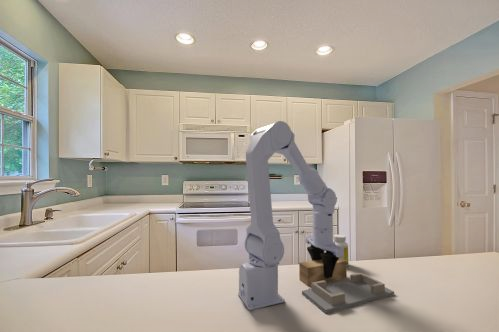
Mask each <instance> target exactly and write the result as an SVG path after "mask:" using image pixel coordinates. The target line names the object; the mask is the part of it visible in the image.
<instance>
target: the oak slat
mask: <svg viewBox="0 0 499 332" xmlns="http://www.w3.org/2000/svg"><path fill="white" fill-rule="evenodd" d="M298 266H299V277H298V278H299V282H301V283H303V284H304V285H305V286H307V287H310V286H311V283H313V282H318V281H322V280H324V281H326V283H330V282H334V281H338V280H339V281H340V280H345V279H347V277H348V275H347V267H348V266H347V267H346V261H345V260H343V259H341V258H339V259H338V261H337V263H336V265H335V268H334V271H333V275H332V277H331V278H325V275H324V266H323V261H322V259H320V260H314V261H312V260H308V261H303V262H299V263H298Z"/></svg>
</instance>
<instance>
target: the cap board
mask: <svg viewBox="0 0 499 332" xmlns="http://www.w3.org/2000/svg"><path fill="white" fill-rule="evenodd" d="M349 277H350V278H349V279H350V280H345V281H342V282H336V283H332V284H327V282H326V281H324V280H322V281H318V282H313V283H311V288H308V289H305V290H302V291H301V295H302V296H303V297H305V299H307V300H309V302H311V303H312V304H313V305H314V306H316V307H317V308H318V309H320V310H321V311H322V312H323V313H324V314H328V313H329V314H330V313H332V312H337V311H340V310H344V309H347V308H352V307H354V306H355V307H356V306H359V305H363V304H365V303H371V302H373V301H376V300H380V299H384V298H388V297H391V296H392V297H393V296H395V291H394V290H392V289H390V288H388V287H385V284H386V283H383V282H381V281H380V280H378V279H375V278H373V277H371V276H369V275H367V274H364V273H362V272H357V273H353V274H350V276H349Z"/></svg>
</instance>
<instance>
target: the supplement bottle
mask: <svg viewBox="0 0 499 332" xmlns="http://www.w3.org/2000/svg"><path fill="white" fill-rule="evenodd" d="M346 240H347V238H346V235H344V234H333V241H334V242H335V245H337V246H338V247H339V248H341V249H343V250H344V257H340V258H341V259H343V260H345V261H346V267H348V266H349V244H348V243H347V242H346Z"/></svg>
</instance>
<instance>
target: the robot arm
mask: <svg viewBox="0 0 499 332" xmlns="http://www.w3.org/2000/svg"><path fill="white" fill-rule="evenodd" d="M275 153H276V154H280V155H282V156H283V157H284V158H285V159H286V160H287V162H288V163H289V164H290V165H291V166H292V168H294V170H295V172H297V174H298V177H297V179H298V182H299V184H300V185H301V186H302V188H303V189H304V190H305V192H306V195H307V201H308V203H310V204H311V205H312V236H306V237H305V244H308V245H310V246H307V248H306V250H307V253H308V254H309V256H310V258H311V261H314V260H320V259H322V261H323V266H324V275H325V278H331V277H332V275H333V271H334V268H335V265H336V263H337V261H338V259H339V258H340V257H344V250H343V249H341V248H339V247H338V246H337V245H335V242H334V239H333V235H334V221H333V220H334V217H333V214H334V212H335V207H336V205H337V202H338V197H337V194H336V192H335V191H334V190H333V189H332V188H329V187H328V186H327V185H326V183H325V182H324V180H323V179H322V177H321V176H320V174H319V171H318V170H317V169H316V168H314V167H309V164H308V163H307V161H306V159H305V158H304V156H303V154H302V152H301V151H300V149H299V147H298V146H297V144H296V142H295V133H294V132H293V131H292V129H291V126H289V124H288V123H287V122H286V121H284V120H278V121H276V122H274V123H271V124H268V125H265V126H262V127H261V126H260V127H258V128H257V129H255V130H254V131H253V132H252V133H251V134H250V141H249V144H248V146H247V150H246V152H245V163H246V165H245V166H246V173H247V174H246V175H247V186H248V187H247V188H248V197H249V199H248V200H249V212H250V222H251V223H250V225H248V226H247V227H246V237H245V240H244V249H245V251H246V252H247V253H248V261H247V262H245V263H242V264H239V265H240V266H239V269H238V292H237V294H238V297H239V298H240V299H241V300H242V302H243V303H244V305H245V306H246V308H247V310H248V311H249V310H250V311H251V310H256V309H261V308H264V307H265V308H266V307H268V306H269V307H270V306H273V305H277V304H282V303H285V302H286V300H285V298H284V297H283V296H282V295H281V294H280V293H279V265H280V262H281V261H282V260H283V257H284V254H285V247H284V246H285V245H284V243H283V241H282V239H281V233H280V231H279V229H278V228H277V227H276V225H275V223H274V221H273V220H274V217H273V207H272V206H273V205H272V192H271V182H270V171H269V170H270V169H269V160H270V158H272V156H273V155H275Z"/></svg>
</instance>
